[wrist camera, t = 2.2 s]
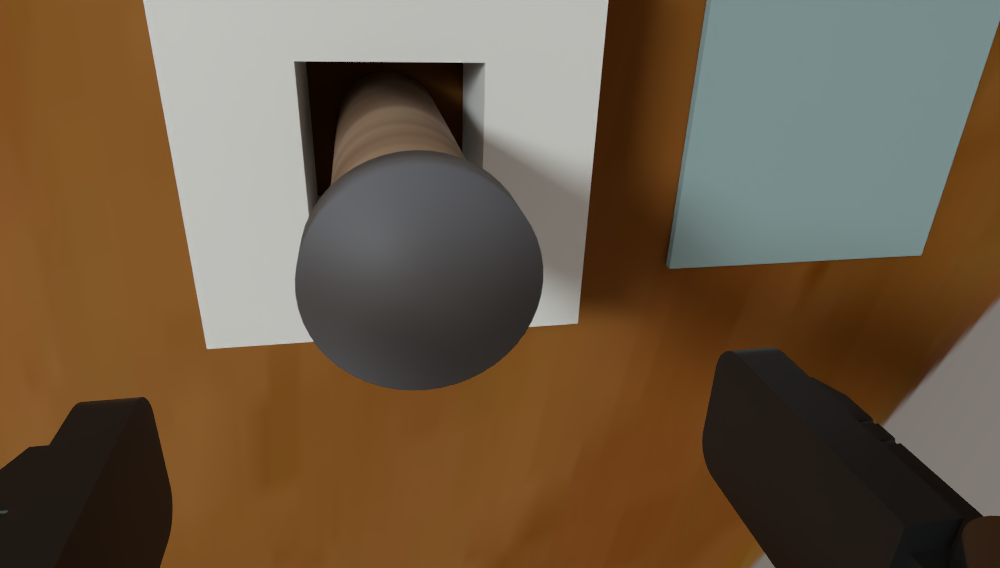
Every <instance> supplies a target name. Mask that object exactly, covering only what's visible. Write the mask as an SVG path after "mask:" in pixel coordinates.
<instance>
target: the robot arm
mask: <svg viewBox="0 0 1000 568" xmlns="http://www.w3.org/2000/svg"><path fill="white" fill-rule="evenodd" d="M702 444H703V453H704V458H705V462H706V465H707V468H708V470H709V472H710V474H711V476H712V477H713V479H714V480H715V482H716V483H717V485H718V486H719V488H720V489H721V490H722V492H723V493H724V495H725V496H726V498H727V499H728V500H729V502H730V503H731V505H732V506H733V508H734V509H735V510H736V512H737V513H738V515H739V516H740V518H741V519H742V521H743V522H744V523H745V525H746V526H747V528H748V529H749V531H750V532H751V533H752V535H753V536H754V538H755V539H756V541H757V542H758V544H759V545H760V546H761V548H762V549H763V551H764V552H765V554H766V555H767V556H768V558H769V559H770V561H771V562H772V564H773V565H774V566H775V568H1000V516H985V517H983V516H982V515H981V514H980V513H979V512H978V511H977V510H976V509H975V508H973V507H972V506H971V505H970V504H969V503H968V502H966V501H965V500H964V499H963V498H962V497H961V496H960V495H959V494H957V493H956V492H955V491H954V490H953V489H952V488H951V487H950V486H948V485H947V484H946V483H945V482H944V481H943V480H942V479H941V478H939V477H938V476H937V475H936V474H934V472H933V471H931V470H930V469H929V468H928V467H927V466H926V465H925V464H923V463H922V462H921V461H920V460H919V459H918V458H917V457H916V456H914V455H913V454H912V453H911V452H910V451H909V450H908V449H906V448H905V447H904V446H903V445H902V444H901V443H900V444H896V443H895V438H894V437H893V436H892V435H891V434H889V433H888V432H887V431H886V430H885V429H884V428H883V427H881V426H880V425H879V424H874V423H873V419H872V418H871V417H870V416H869V415H868V414H867V413H866V412H864V411H863V410H862V409H861V408H860V407H859V406H858V405H857V404H855V403H854V402H853V401H852V400H851V399H850V398H849V397H847V396H846V395H844V394H842V393H840V392H839V391H837V390H835V389H833V388H831V387H829V386H827V385H826V384H824V383H822V382H820V381H818V380H816V379H814V378H813V377H809V376H808V375H807V374H806V373H805V372H804V371H803V370H801V369H800V368H799V367H798V366H797V365H796V364H795V363H794V362H793V361H792V360H791V359H789V358H788V357H787V356H786V355H785V354H784V353H783V352H781V351H780V350H779V349H776V348H762V349H749V350H737V351H727V352H725V353H723V354H722V355H721V356H720V358H719V360H718V362H717V366H716V371H715V376H714V381H713V386H712V391H711V396H710V401H709V406H708V411H707V416H706V421H705V426H704V431H703V439H702ZM171 524H172V493H171V487H170V483H169V479H168V474H167V470H166V466H165V461H164V457H163V453H162V448H161V444H160V440H159V436H158V431H157V427H156V423H155V418H154V414H153V410H152V407H151V405H150V403H149V401H148V400H147V399H146V398H144V397H139V398H127V399H114V400H102V401H89V402H80V403H77V404H76V405H75V406H74V407H73V408H72V410H71V411H70V413H69V414H68V416H67V418H66V419H65V421H64V422H63V424H62V426H61V427H60V429H59V430H58V432H57V434H56V435H55V437H54V438H53V440H52V442H51V443H50V445H47V446H36V447H29V448H28V449H26V450H25V451H24V452H22V453H21V454H20V455H19V456H17V457H16V458H15V459H13V460H12V461H11V462H10V463H8V464H7V465H6V466H5V467H3V468H2V469H1V470H0V568H160V565H161V562H162V559H163V555H164V552H165V549H166V546H167V543H168V540H169V536H170V531H171Z"/></svg>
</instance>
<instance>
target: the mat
mask: <svg viewBox="0 0 1000 568" xmlns="http://www.w3.org/2000/svg"><path fill="white" fill-rule="evenodd" d="M999 21H1000V0H707V2H706V9H705V15H704V22H703V28H702V35H701V41H700V48H699V54H698V61H697V67H696V74H695V80H694V87H693V93H692V100H691V106H690V113H689V119H688V126H687V132H686V139H685V145H684V152H683V158H682V165H681V171H680V178H679V184H678V191H677V197H676V204H675V210H674V217H673V223H672V230H671V236H670V243H669V249H668V256H667V262H666V266H667V267H668V268H669V269H676V268H695V267H713V266H732V265H750V264H769V263H787V262H806V261H824V260H843V259H861V258H880V257H898V256H917V255H922V252H923V249H924V246H925V243H926V240H927V237H928V234H929V231H930V228H931V225H932V222H933V219H934V216H935V213H936V210H937V207H938V204H939V201H940V198H941V195H942V192H943V189H944V186H945V183H946V180H947V177H948V174H949V171H950V168H951V165H952V162H953V159H954V156H955V153H956V150H957V147H958V144H959V141H960V138H961V135H962V132H963V129H964V126H965V123H966V120H967V117H968V114H969V111H970V108H971V105H972V102H973V99H974V96H975V93H976V90H977V87H978V84H979V81H980V78H981V75H982V72H983V69H984V66H985V63H986V60H987V57H988V54H989V51H990V48H991V45H992V42H993V39H994V36H995V33H996V30H997V27H998V24H999Z"/></svg>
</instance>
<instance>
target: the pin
mask: <svg viewBox="0 0 1000 568" xmlns="http://www.w3.org/2000/svg"><path fill="white" fill-rule="evenodd" d="M542 286H543V261H542V254H541V250H540V246H539V243H538V240H537V237H536V235H535V233H534V231H533V228H532V226H531V224H530V223H529V221H528V220H527V218H526V217H525V215H524V214H523V212H522V211H521V209H520V208H519V206H518V205H517V203H516V202H515V200H514V199H513V197H512V196H511V194H510V193H509V192H508V190H507V189H506V188H505V187H504V186H503V185H502V184H501V183H500V182H499V181H498V180H497V179H496V178H495V177H493V176H492V175H491V174H490V173H489V172H487V171H486V170H484V169H482V168H481V167H479V166H478V165H476V164H474V163H472V162H470V161H468V160H466V159H465V157H464V155H463V153H462V151H461V150H460V148H459V146H458V144H457V142H456V141H455V139H454V137H453V135H452V133H451V132H450V130H449V128H448V126H447V124H446V123H445V121H444V119H443V117H442V115H441V114H440V112H439V110H438V108H437V106H436V105H435V103H434V101H433V99H432V97H431V96H430V94H429V93H428V91H427V90H426V89H425V88H424V87H423V86H422V85H421V84H420V83H419V82H417V81H416V80H415V79H413V78H411V77H409V76H407V75H405V74H402V73H398V72H394V71H379V72H374V73H371V74H368V75H366V76H364V77H362V78H360V79H359V80H357V81H356V82H355V83H354V84H352V85H351V86H350V88H349V89H348V90H347V91H346V93H345V94H344V96H343V98H342V100H341V103H340V106H339V109H338V117H337V127H336V137H335V148H334V158H333V168H332V179H331V186H330V187H329V188H328V189H327V190H326V191H325V193H324V194H323V195H322V196H321V197H320V199H319V200H318V202H317V203H316V205H315V206H314V208H313V210H312V211H311V213H310V215H309V218H308V220H307V222H306V224H305V227H304V231H303V235H302V238H301V243H300V248H299V254H298V259H297V265H296V273H295V295H296V300H297V306H298V310H299V313H300V316H301V319H302V321H303V324H304V326H305V328H306V330H307V331H308V333H309V335H310V337H311V338H312V340H313V341H314V342H315V344H316V345H317V347H318V348H319V349H320V350H321V351H322V352H323V353H324V354H325V355H326V356H327V357H328V358H329V359H330V360H331V361H332V362H333V363H335V364H336V365H337V366H338V367H340V368H341V369H343V370H345V371H346V372H348V373H349V374H351V375H353V376H355V377H357V378H359V379H361V380H364V381H366V382H369V383H372V384H375V385H378V386H382V387H387V388H392V389H400V390H428V389H436V388H442V387H446V386H450V385H454V384H457V383H459V382H462V381H465V380H468V379H470V378H472V377H474V376H476V375H478V374H480V373H482V372H484V371H485V370H487V369H488V368H490V367H491V366H493V365H495V364H496V363H497V362H498V361H499V360H501V359H502V358H503V357H504V356H506V355H507V354H508V353H509V352H510V351H511V350H512V348H513V347H514V346H515V345H516V344H517V343H518V342H519V340H520V339H521V338H522V336H523V335H524V334H525V332H526V330H527V329H528V327H529V325H530V324H531V322H532V320H533V318H534V315H535V313H536V311H537V308H538V305H539V301H540V298H541V294H542Z"/></svg>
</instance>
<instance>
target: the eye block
mask: <svg viewBox="0 0 1000 568" xmlns="http://www.w3.org/2000/svg"><path fill="white" fill-rule="evenodd" d="M143 2H144V7H145V13H146V18H147V24H148V29H149V35H150V40H151V45H152V51H153V56H154V62H155V67H156V73H157V78H158V84H159V89H160V95H161V100H162V106H163V111H164V117H165V122H166V128H167V133H168V139H169V144H170V149H171V155H172V160H173V166H174V171H175V177H176V182H177V188H178V193H179V199H180V204H181V210H182V215H183V221H184V226H185V232H186V237H187V242H188V248H189V253H190V259H191V264H192V270H193V275H194V281H195V286H196V292H197V297H198V303H199V308H200V314H201V319H202V325H203V330H204V336H205V341H206V346H207V349H214V348H229V347H243V346H258V345H273V344H287V343H302V342H314V341H313V340H312V338H311V337H310V335H309V333H308V331H307V330H306V328H305V326H304V324H303V321H302V319H301V316H300V313H299V310H298V306H297V300H296V295H295V273H296V265H297V259H298V254H299V248H300V243H301V238H302V235H303V231H304V227H305V224H306V222H307V220H308V218H309V215H310V213H311V211H312V210H313V208H314V206H315V205H316V203H317V202H318V200H319V199H320V197H321V196H318V191H317V180H316V168H315V157H314V146H313V134H312V123H311V112H310V101H309V89H308V78H307V67H306V61H314V62H445V63H463V125H462V153H463V155H464V157H465V159H466V160H468V161H470V162H472V163H474V164H476V165H478V166H479V167H481V168H482V169H484V170H486V171H487V172H489V173H490V174H491V175H492V176H493V177H495V178H496V179H497V180H498V181H499V182H500V183H501V184H502V185H503V186H504V187H505V188H506V189H507V190H508V192H509V193H510V194H511V196H512V197H513V199H514V200H515V202H516V203H517V205H518V206H519V208H520V209H521V211H522V212H523V214H524V215H525V217H526V218H527V220H528V221H529V223H530V224H531V226H532V228H533V231H534V233H535V235H536V237H537V240H538V243H539V246H540V250H541V254H542V261H543V286H542V294H541V298H540V301H539V305H538V308H537V311H536V313H535V315H534V318H533V320H532V322H531V324H530V325H529V327H535V326H549V325H564V324H578V315H579V304H580V294H581V283H582V273H583V262H584V252H585V241H586V231H587V220H588V210H589V199H590V189H591V178H592V168H593V157H594V147H595V136H596V126H597V115H598V105H599V94H600V84H601V73H602V63H603V52H604V42H605V31H606V21H607V10H608V0H143Z"/></svg>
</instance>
